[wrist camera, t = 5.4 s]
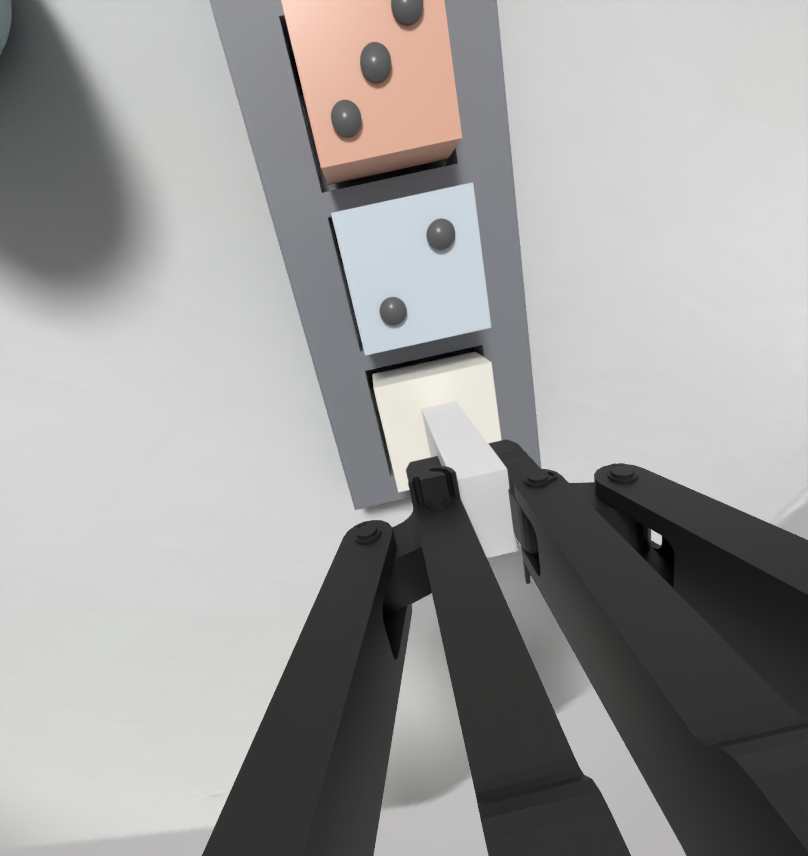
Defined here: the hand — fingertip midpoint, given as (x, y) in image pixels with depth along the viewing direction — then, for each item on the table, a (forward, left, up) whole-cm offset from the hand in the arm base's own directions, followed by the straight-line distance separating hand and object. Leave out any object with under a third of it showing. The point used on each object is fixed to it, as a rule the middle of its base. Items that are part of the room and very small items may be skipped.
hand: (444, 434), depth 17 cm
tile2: (0, +6, -3) cm, 7 cm away
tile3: (0, +13, -3) cm, 13 cm away
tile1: (0, 0, -3) cm, 3 cm away
